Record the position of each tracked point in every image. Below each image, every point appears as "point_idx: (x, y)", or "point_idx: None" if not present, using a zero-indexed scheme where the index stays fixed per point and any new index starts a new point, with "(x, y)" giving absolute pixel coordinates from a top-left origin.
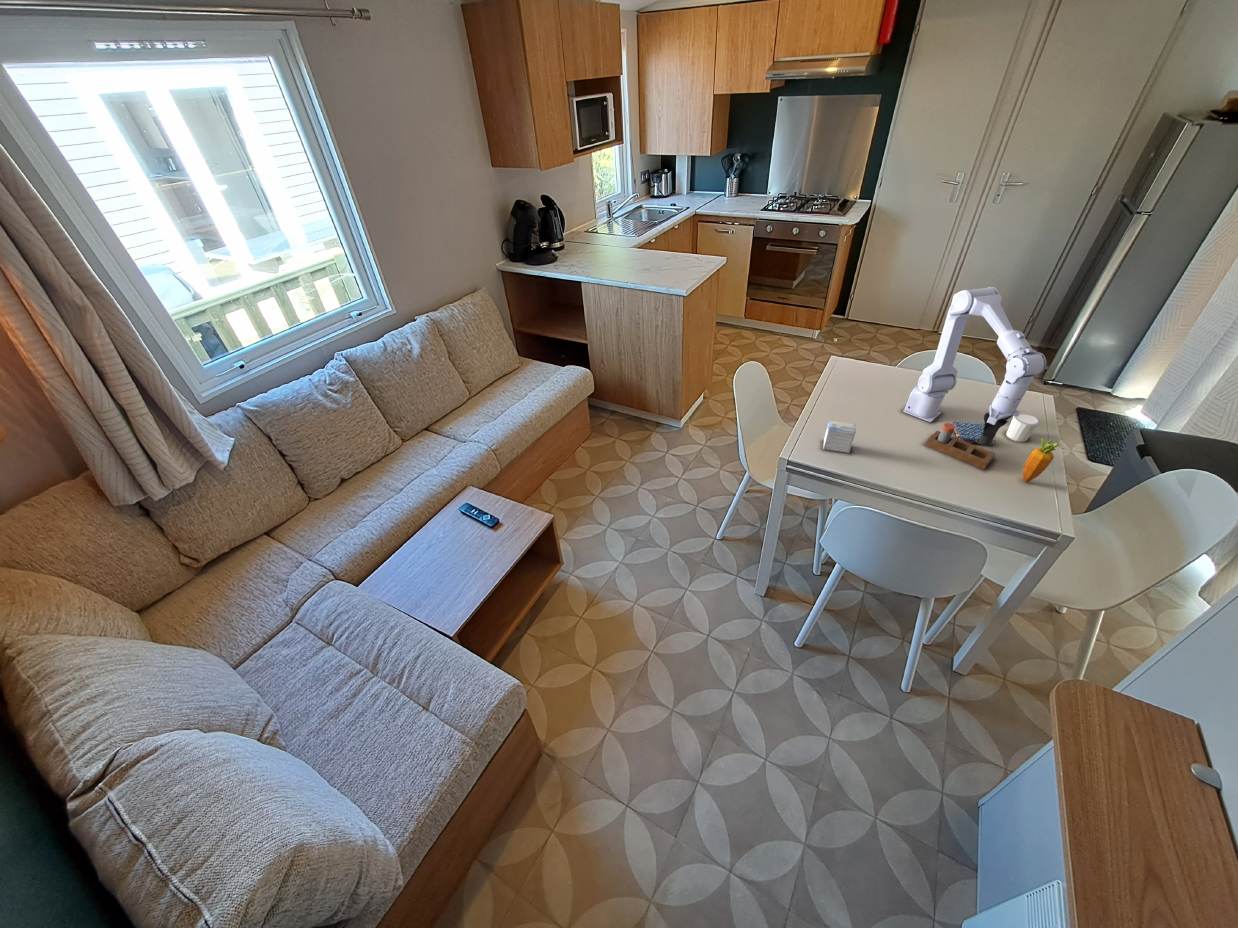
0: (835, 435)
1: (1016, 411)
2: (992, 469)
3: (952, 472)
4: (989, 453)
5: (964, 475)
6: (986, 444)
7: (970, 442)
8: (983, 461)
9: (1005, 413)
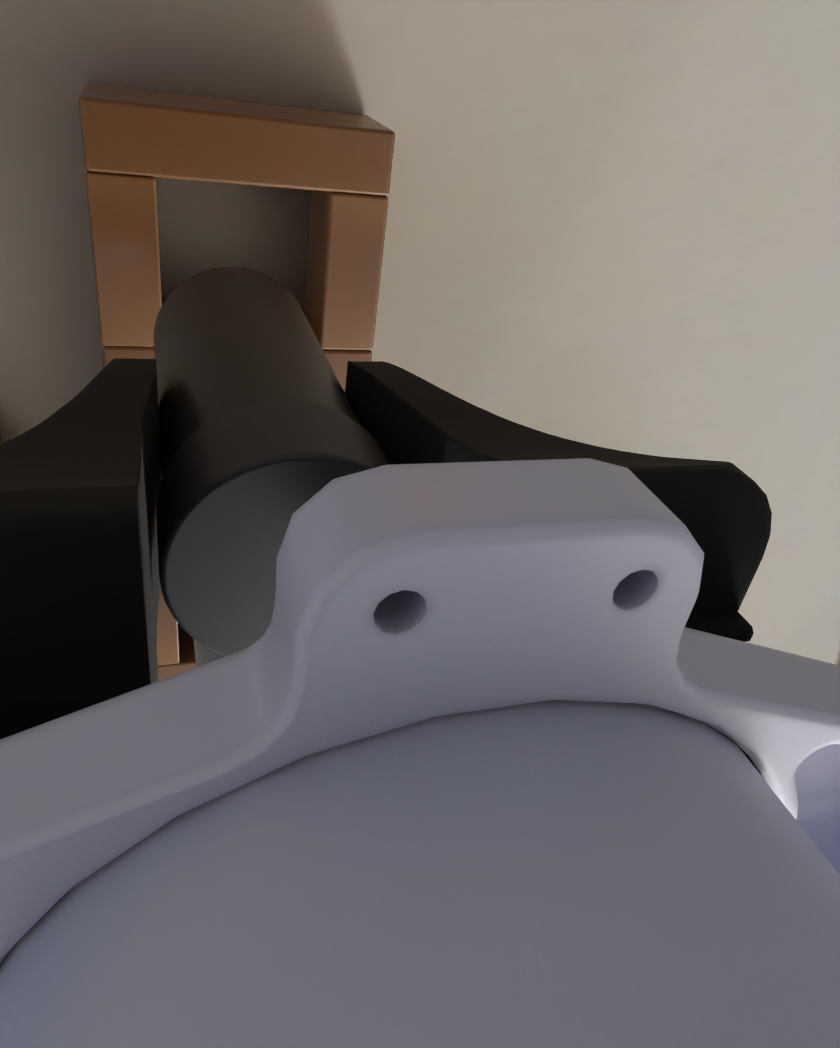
0: None
1: (404, 678)
2: (294, 23)
3: (578, 342)
4: (146, 171)
5: (572, 247)
6: (300, 309)
7: None
8: (387, 182)
9: (791, 802)
